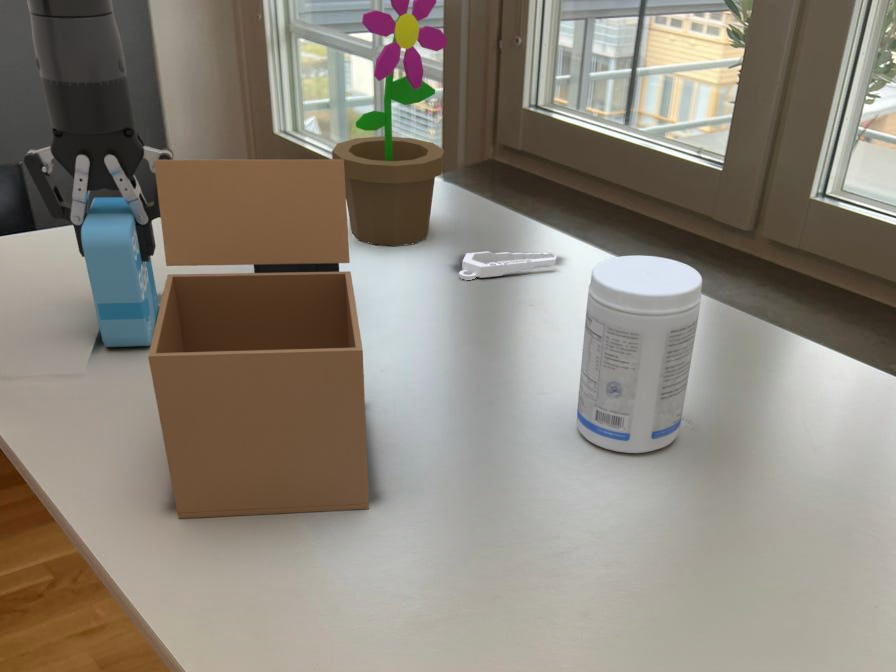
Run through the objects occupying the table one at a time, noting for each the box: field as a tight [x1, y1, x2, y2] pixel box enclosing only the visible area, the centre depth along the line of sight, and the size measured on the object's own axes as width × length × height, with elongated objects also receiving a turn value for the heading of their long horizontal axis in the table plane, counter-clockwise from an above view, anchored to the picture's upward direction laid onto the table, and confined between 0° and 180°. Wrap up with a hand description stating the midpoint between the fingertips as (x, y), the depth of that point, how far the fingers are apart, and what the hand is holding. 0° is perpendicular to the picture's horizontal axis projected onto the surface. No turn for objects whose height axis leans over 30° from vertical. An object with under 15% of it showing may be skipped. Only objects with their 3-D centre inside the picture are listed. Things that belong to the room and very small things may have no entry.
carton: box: [147, 271, 370, 519], centre depth 81 cm, size 15×16×14 cm
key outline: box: [458, 251, 557, 281], centre depth 123 cm, size 13×5×2 cm, turn 111°
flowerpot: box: [331, 0, 448, 246], centre depth 123 cm, size 14×14×30 cm
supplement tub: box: [576, 255, 703, 454], centre depth 87 cm, size 10×10×15 cm
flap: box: [154, 159, 351, 267], centre depth 81 cm, size 15×8×1 cm
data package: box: [81, 196, 159, 348], centre depth 102 cm, size 12×4×12 cm, turn 10°
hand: (119, 258), depth 101 cm, fingers closed on data package, 4 cm apart
